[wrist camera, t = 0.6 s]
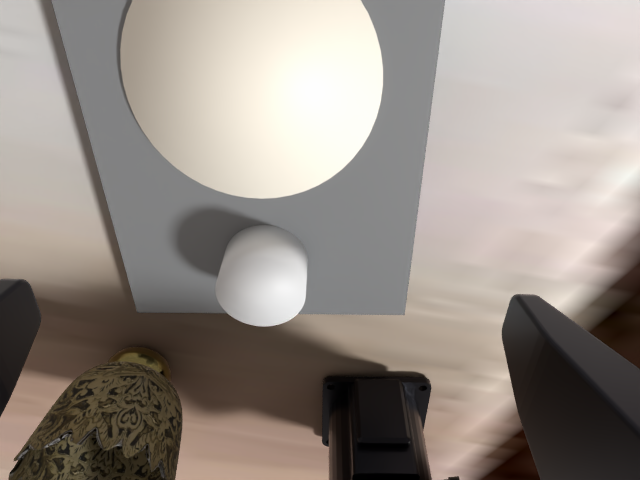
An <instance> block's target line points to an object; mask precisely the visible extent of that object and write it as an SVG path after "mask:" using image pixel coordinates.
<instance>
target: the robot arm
mask: <svg viewBox="0 0 640 480" xmlns="http://www.w3.org/2000/svg"><path fill="white" fill-rule="evenodd" d="M40 322H41V313H40V310H39V307H38V305H37V302H36V299H35V296H34V294H33V291H32V288H31V286H30V284H29V283H28V282H27V281H26V280H23V279H1V280H0V416H1V414H2V413H3V411H4V409H5V407H6V405H7V403H8V401H9V399H10V397H11V395H12V392H13V390H14V388H15V386H16V383H17V381H18V378H19V376H20V373H21V371H22V368H23V366H24V363H25V361H26V359H27V356H28V354H29V351H30V349H31V346H32V344H33V341H34V339H35V336H36V334H37V331H38V329H39V326H40ZM502 341H503V345H504V350H505V355H506V359H507V364H508V369H509V373H510V378H511V383H512V387H513V392H514V397H515V401H516V405H517V409H518V413H519V417H520V420H521V423H522V426H523V429H524V432H525V435H526V438H527V441H528V444H529V447H530V450H531V453H532V455H533V458H534V461H535V464H536V467H537V470H538V473H539V476H540V479H541V480H640V369H639V368H638V367H636V366H635V365H633V364H632V363H631V362H629V361H628V360H626V359H625V358H624V357H622V356H621V355H620V354H618V353H617V352H615V351H614V350H613V349H611V348H610V347H608V346H607V345H606V344H604V343H603V342H601V341H600V340H599V339H597V338H596V337H595V336H593V335H592V334H590V333H589V332H588V331H586V330H585V329H583V328H582V327H581V326H579V325H578V324H576V323H575V322H574V321H572V320H571V319H570V318H568V317H567V316H565V315H564V314H563V313H561V312H560V311H558V310H557V309H556V308H554V307H553V306H551V305H550V304H549V303H547V302H546V301H545V300H543V299H542V298H540V297H539V296H537V295H530V294H516V295H514V296H513V297H512V298H511V300H510V303H509V307H508V310H507V313H506V317H505V320H504V323H503V327H502ZM330 384H332V385H330ZM422 385H423V386H422ZM430 392H431V384H430V380H429V379H427V378H424V377H345V376H330V377H326V378H325V379H324V380H323V414H322V443H323V444H324V445H325V446H328V447H329V480H432V478H431V473H430V467H429V462H428V456H427V450H426V445H425V439H424V434H423V429H424V424H425V418H426V413H427V408H428V403H429V397H430ZM445 480H459V476H457V477H448V479H445Z"/></svg>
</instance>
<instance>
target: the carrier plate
mask: <svg viewBox="0 0 640 480" xmlns="http://www.w3.org/2000/svg"><path fill="white" fill-rule="evenodd" d="M51 1H52V5H53V8H54V12H55V15H56V19H57V23H58V26H59V30H60V34H61V37H62V41H63V45H64V48H65V52H66V55H67V59H68V63H69V66H70V70H71V74H72V77H73V81H74V84H75V88H76V92H77V95H78V99H79V103H80V106H81V110H82V114H83V117H84V121H85V124H86V128H87V132H88V135H89V139H90V143H91V146H92V150H93V154H94V157H95V161H96V164H97V168H98V172H99V175H100V179H101V183H102V186H103V190H104V194H105V197H106V201H107V204H108V208H109V212H110V215H111V219H112V223H113V226H114V230H115V233H116V237H117V241H118V244H119V248H120V252H121V255H122V259H123V263H124V266H125V270H126V273H127V277H128V281H129V284H130V288H131V292H132V295H133V299H134V303H135V306H136V310H137V312H138V313H228V314H229V315H230V316H232V317H233V318H235V319H236V320H238V321H241V322H243V323H246V324H249V325H254V326H275V325H279V324H282V323H285V322H287V321H289V320H290V319H292V318H293V317H295V316H296V315H297V314H357V315H405V307H406V299H407V291H408V284H409V276H410V268H411V260H412V252H413V245H414V237H415V229H416V221H417V214H418V206H419V198H420V190H421V183H422V175H423V167H424V159H425V152H426V144H427V136H428V128H429V121H430V113H431V105H432V97H433V90H434V82H435V74H436V66H437V59H438V51H439V43H440V35H441V28H442V20H443V12H444V4H445V0H51Z"/></svg>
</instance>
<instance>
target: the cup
mask: <svg viewBox="0 0 640 480" xmlns="http://www.w3.org/2000/svg"><path fill="white" fill-rule="evenodd" d="M170 381H171V372H170V367H169V364H168V363H167V361H166V360H165V358H164V357H163V356H162V355H160V354H159V353H157V352H155V351H153V350H151V349H148V348H144V347H128V348H125V349H122V350H120V351H119V352H117V353H116V354H115V355H114V356H112V357H111V358H110V360H109V361H108V363H106V364H102V365H99V366H96V367H94V368H92V369H90V370H88V371H86V372H85V373H83V374H82V375H80V376H79V377H78V378H77V379H75V380H74V381H73V382H72V383H71V384H70V385H69V386H68V387H67V389H66V390H65V391H64V392H63V393H62V394H61V396H60V397H59V398H58V400H57V401H56V402H55V404H54V405H53V406H52V407H51V409H50V410H49V412H48V413H47V414H46V416H45V417H44V419H43V420H42V421H41V423H40V424H39V425H38V427H37V428H36V430H35V431H34V433H33V434H32V435H31V437H30V438H29V440H28V441H27V442H26V444H25V445H24V447H23V448H22V450H21V451H20V452H19V453H18V455H17V456H16V457H15V458H14V461H16V460H18V459H19V460H18V462H17V464H16V465H15V467H14V468H13V470H12V471H11V472H10V474H9V480H175V476H176V470H177V463H178V456H179V449H180V442H181V433H182V407H181V402H180V399H179V396H178V394H177V391H176V390H175V388H174V387H173V385H172V384H171V383H170Z"/></svg>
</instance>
